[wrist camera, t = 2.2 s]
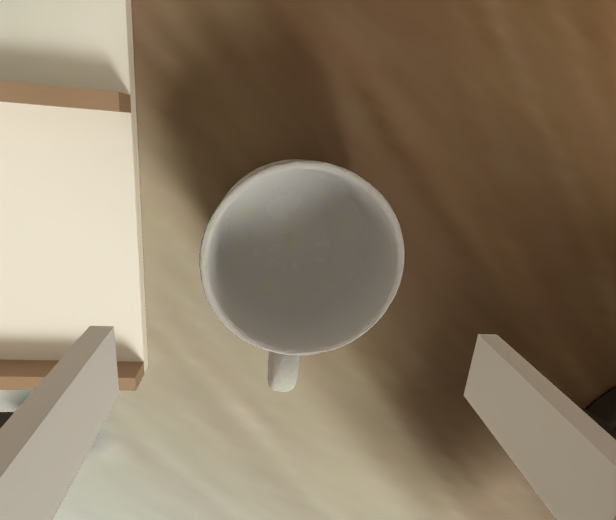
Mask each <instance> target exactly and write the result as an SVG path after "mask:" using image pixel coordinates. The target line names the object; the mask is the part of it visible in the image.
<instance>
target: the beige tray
mask: <svg viewBox="0 0 616 520" xmlns="http://www.w3.org/2000/svg"><path fill="white" fill-rule="evenodd" d="M89 326H114V333H115V346H116V359H117V372H118V385H119V390H132V391H136V389H137V387H138V385H139V383H140V381H141V379H142V377H143V375H144V373H145V371H146V369H147V367H148V352H147V330H146V309H145V288H144V266H143V245H142V224H141V202H140V181H139V159H138V138H137V117H136V95H135V74H134V53H133V31H132V10H131V0H0V390H34V389H35V388H36V387H37V386H38V385H39V384H40V382H41V381H42V380H43V379H44V378H45V377H46V376H47V374H48V373H49V372H50V371H51V370H52V369H53V368H54V366H55V365H56V364H57V363H58V362H59V361H60V359H61V358H62V357H63V356H64V355H65V354H66V353H67V351H68V350H69V349H70V348H71V347H72V346H73V345H74V343H75V342H76V341H77V340H78V339H79V338H80V337H81V335H82V334H83V333H84V332H85V331H86V330H87V329H88V327H89Z"/></svg>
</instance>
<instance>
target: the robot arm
mask: <svg viewBox="0 0 616 520" xmlns="http://www.w3.org/2000/svg"><path fill="white" fill-rule="evenodd" d="M118 397H119V385H118V372H117V359H116V346H115V333H114V326H89V327H88V329H87V330H86V331H85V332H84V333H83V334H82V335H81V337H80V338H79V339H78V340H77V341H76V342H75V343H74V345H73V346H72V347H71V348H70V349H69V350H68V351H67V353H66V354H65V355H64V356H63V357H62V358H61V359H60V361H59V362H58V363H57V364H56V365H55V366H54V368H53V369H52V370H51V371H50V372H49V373H48V374H47V376H46V377H45V378H44V379H43V380H42V381H41V382H40V384H39V385H38V386H37V387H36V388H35V389H34V390H33V392H32V393H31V394H30V395H29V396H28V397H27V398H26V400H25V401H24V402H23V403H22V404H21V405H20V406H19V408H18V409H17V410H16V411H15V412H0V520H52V519H53V518H54V516H55V514H56V512H57V510H58V508H59V506H60V505H61V503H62V501H63V499H64V497H65V495H66V493H67V492H68V490H69V488H70V486H71V484H72V482H73V480H74V479H75V477H76V475H77V473H78V471H79V469H80V467H81V465H82V464H83V462H84V460H85V458H86V456H87V454H88V452H89V451H90V449H91V447H92V445H93V443H94V441H95V439H96V438H97V436H98V434H99V432H100V430H101V428H102V426H103V425H104V423H105V421H106V419H107V417H108V415H109V413H110V412H111V410H112V408H113V406H114V404H115V402H116V400H117V398H118ZM464 397H465V398H466V399H467V401H468V402H469V403H470V405H471V406H472V407H473V409H474V410H475V411H476V413H477V414H478V415H479V417H480V418H481V419H482V421H483V422H484V423H485V425H486V426H487V427H488V429H489V430H490V431H491V433H492V434H493V435H494V437H495V438H496V439H497V441H498V442H499V443H500V445H501V446H502V448H503V449H504V450H505V452H506V453H507V454H508V456H509V457H510V458H511V460H512V461H513V462H514V464H515V465H516V466H517V468H518V469H519V470H520V472H521V473H522V474H523V476H524V477H525V478H526V480H527V481H528V482H529V484H530V485H531V486H532V488H533V489H534V490H535V492H536V493H537V494H538V496H539V497H540V498H541V500H542V501H543V502H544V504H545V505H546V507H547V508H548V509H549V511H550V512H551V513H552V515H553V516H554V517H555V519H556V520H616V388H615V389H613V390H611V391H609V392H608V393H606V394H605V395H603V396H602V397H601V398H599V399H598V400H597V401H596V402H594V403H593V404H592V405H591V406H590V407H589V408H588V409H587V410H585V409H580V408H579V407H578V406H577V405H576V404H575V403H574V402H573V401H571V400H570V399H569V398H568V397H567V396H566V395H565V394H563V393H562V392H561V391H560V390H559V389H558V388H557V387H556V386H554V385H553V384H552V383H551V382H550V381H549V380H548V379H547V378H545V377H544V376H543V375H542V374H541V373H540V372H539V371H538V370H536V369H535V368H534V367H533V366H532V365H531V364H530V363H529V362H527V361H526V360H525V359H524V358H523V357H522V356H521V355H520V354H518V353H517V352H516V351H515V350H514V349H513V348H512V347H511V346H509V345H508V344H507V343H506V342H505V341H504V340H503V339H502V338H500V337H499V336H498V335H497V334H478V337H477V341H476V345H475V349H474V354H473V358H472V362H471V366H470V370H469V375H468V379H467V383H466V387H465V391H464Z"/></svg>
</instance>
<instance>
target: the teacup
mask: <svg viewBox="0 0 616 520" xmlns="http://www.w3.org/2000/svg"><path fill="white" fill-rule="evenodd" d="M199 266H200V272H201V281H202V285H203V288H204V292H205V295H206V298H207V300H208V302H209V305H210V306H211V308H212V310H213V311H214V312H215V314H216V315H217V317H218V318H219V320H220V321H221V322H222V323H223V324H224V325H225V326H226V327H227V328H228V329H229V330H230V331H231V332H232V333H234V334H235V335H236V336H237V337H238V338H240V339H242V340H243V341H245V342H247V343H249V344H251V345H253V346H256V347H259V348H261V349H264V350H267V351H269V360H268V384H269V387H270V388H271V389H273V390H275V391H290V390H292V389H293V388H294V387H295V384H296V382H297V377H298V371H299V361H300V355H312V354H318V353H322V352H326V351H331V350H334V349H338V348H340V347H342V346H345V345H347V344H349V343H351V342H352V341H354V340H356V339H357V338H359V337H360V336H362V335H363V334H364V333H366V332H367V331H368V330H369V329H370V328H371V327H373V326H374V325H375V324H376V323H377V322H378V320H379V319H380V318H381V317H382V316H383V315H384V313H385V312H386V310H387V309H388V307H389V305H390V304H391V302H392V301H393V299H394V297H395V295H396V293H397V290H398V288H399V285H400V282H401V279H402V274H403V269H404V241H403V237H402V232H401V227H400V225H399V222H398V219H397V217H396V215H395V213H394V211H393V209H392V207H391V206H390V204H389V203H388V201H387V200H386V198H385V197H384V196H383V195H382V194H381V193H380V192H379V191H378V190H377V189H376V188H375V187H374V186H373V185H372V184H370V183H369V182H368V181H367V180H365V179H364V178H362V177H360V176H359V175H357V174H356V173H354V172H352V171H350V170H348V169H345V168H343V167H340V166H337V165H335V164H330V163H326V162H322V161H313V160H302V159H290V160H282V161H277V162H272V163H269V164H266V165H264V166H261V167H259V168H257V169H255V170H253V171H252V172H250V173H249V174H247V175H246V176H244V177H243V178H242V179H240V180H239V181H238V182H237V183H236V184H235V185H234V186H233V187H232V188H231V189H230V190H229V192H228V193H227V194H226V195H225V197H224V198H223V200H222V201H221V202H220V204H219V205H218V206H217V208H216V209H215V211H214V212H213V214H212V216H211V218H210V220H209V222H208V224H207V227H206V229H205V231H204V236H203V239H202V243H201V250H200V265H199Z"/></svg>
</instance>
